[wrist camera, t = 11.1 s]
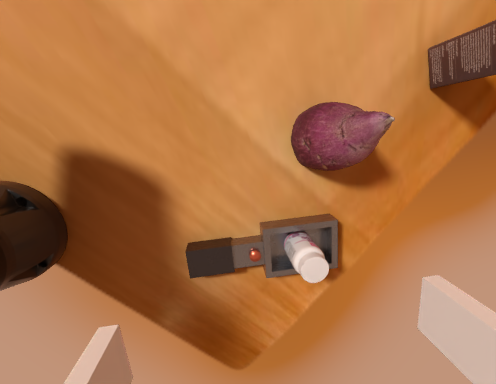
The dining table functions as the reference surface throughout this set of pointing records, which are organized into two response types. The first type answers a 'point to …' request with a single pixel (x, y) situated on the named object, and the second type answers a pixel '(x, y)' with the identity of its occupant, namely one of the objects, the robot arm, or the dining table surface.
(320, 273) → the pill bottle
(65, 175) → the dining table surface
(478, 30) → the box
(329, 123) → the vegetable
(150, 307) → the dining table surface
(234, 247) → the shallow gray tray
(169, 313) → the dining table surface
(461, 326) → the robot arm
